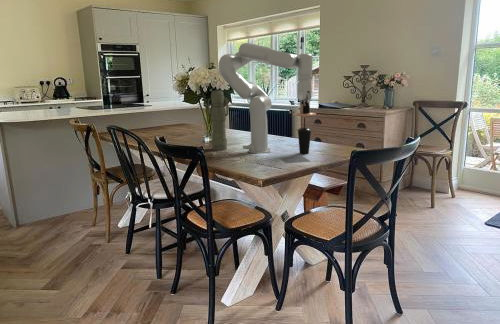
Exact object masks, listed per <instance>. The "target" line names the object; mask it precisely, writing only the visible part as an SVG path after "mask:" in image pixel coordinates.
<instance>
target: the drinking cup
mask: <svg viewBox="0 0 500 324" xmlns="http://www.w3.org/2000/svg"><path fill="white" fill-rule="evenodd" d="M296 130H297V137H298V146H299V147H298V149H299V154H300V155H309V154H310V144H311V135H312V134H311V133H312V129H311V128H309V127H306V117H303V126H302V127H300V128H298V129H296Z"/></svg>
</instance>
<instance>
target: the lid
mask: <svg viewBox="0 0 500 324" xmlns="http://www.w3.org/2000/svg"><path fill="white" fill-rule="evenodd" d="M303 106H304V104H300V103H299V112H293V116H294V117H295V116H296V117H313V116H316V115H317V112H311V110H310V106H311V104H310V105H309V113H303Z"/></svg>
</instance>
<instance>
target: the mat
mask: <svg viewBox="0 0 500 324" xmlns="http://www.w3.org/2000/svg"><path fill="white" fill-rule="evenodd" d="M279 160H281V161H282V162H284V163H285V164H293V163H294V164H297V163H309V162H312V161H311V160H309V159H308V158H306V157H305V156H303V155H301V156H300V155H299V156H298V155H297V156H284V157H279Z"/></svg>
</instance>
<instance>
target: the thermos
mask: <svg viewBox="0 0 500 324" xmlns="http://www.w3.org/2000/svg"><path fill="white" fill-rule="evenodd" d="M224 95H225V94H224V91H223V90H222V89H214V90H212V91H211V94H210V98H208V100H207V114H208V117H210V121H211V129H212V130H211V131H212V132H211V133H212V137H211V146H212V151H216V152H217V151H226V150H227V149H228V147H227V146H228V140H227V135H226V132H227V131H226V121H227V116H228V115H229V100H228V99H227V97H226V98H225V96H224ZM225 104H226V105H225ZM210 105H211V109H210ZM225 108H226V109H225Z"/></svg>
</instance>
